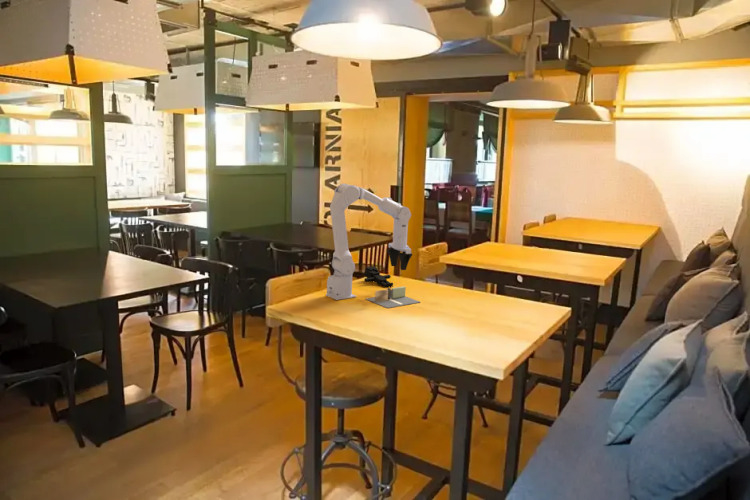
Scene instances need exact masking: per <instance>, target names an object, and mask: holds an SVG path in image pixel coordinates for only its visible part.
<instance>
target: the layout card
mask: <svg viewBox="0 0 750 500" xmlns="http://www.w3.org/2000/svg"><path fill="white" fill-rule="evenodd" d="M365 300H366V301H369V302H370V303H374V304H376V305H379V306H380V307H383V308H385V309H392V308H397V307H403V305H404V306H408V305H413V304H414V305H415V304H420V303H421V301H419V300H417V299H413V298H411V297H409V296H406V295H405V296H404V297H398V298H391V297H390V299H388V300H382V301H375V296H373V297H366V298H365Z"/></svg>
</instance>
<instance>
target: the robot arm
mask: <svg viewBox="0 0 750 500" xmlns="http://www.w3.org/2000/svg"><path fill="white" fill-rule="evenodd" d="M358 200H365V201H367V202H369V203H371V204H373V205H375V206H377V207H378V210H379V211H381V212H383V213H384V214H386V215H388V216H391V217H392V218H393V230H392V231H393V233H392V234H393V235H392V242H389V243H388V248H387V249H386V251H387V254H388V257H389V261H390V266H391V267H397V265H398V258H399V264H400V270H401V271H406V270H407V269H408V264H409V262H410V259H411V258H412V256H413V253H412V248H410V247H409V245H407V244H408V227H409V220H410V219H411V217H412V213H411V211H410V208H409V207H407V206H403V205H402V203H400V202H396V201H394V200H393V198H391V197H382V198H381V197H380V196H377V195H376V194H374V193H372V192H370V191H369V190H367V189H365V188H363V187H359V186H357V185H355V184H348V183H340V184H339V185H338V186H337V187H336V188H334V192H333V197H332V200H331V202H330V204H329V205H330V206H329V211H330V217H331V226H332V236H333V243H334V252H333V254H332V255H333V256H332V261H331V266H332V269H333V270H334V272H333V274H332V275H329V276H328V278H327V280H326V294H325V296H327V297H329V298H331V299H334V300H335V301H338V300H339V301H340V300H346V299H351V298H356V297H357V295H355V294H353V292H352V290H353V273H354V272H355V271H356V264H355V262H354V260H353V255H352V254H351V252H350V250H349V240H348V239H349V238H348V230H347V222H346V213H345V211H346V209H347V208H348V207H349V206H350V205H352V204H353V203H355V202H356V201H358Z"/></svg>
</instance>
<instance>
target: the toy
mask: <svg viewBox="0 0 750 500" xmlns="http://www.w3.org/2000/svg"><path fill="white" fill-rule="evenodd" d="M364 277H365V278H364V280H363V281H364V282H366V283H368V282H370V281H372V282H371V283H375V284H376V285H378V286H382V287H383V288H385V287H388V288H392V287H393V285H394V283H393V282H390V281H389V280H388V279H391V277H392V275H390V274H384V275H382V274H381V272H379V269H378V268H377V267H375V266H366V267H365V270H364ZM373 281H374V282H373ZM389 286H390V287H389ZM391 286H392V287H391Z"/></svg>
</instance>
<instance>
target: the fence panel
mask: <svg viewBox="0 0 750 500" xmlns="http://www.w3.org/2000/svg"><path fill="white" fill-rule="evenodd" d="M406 289H407V287H406V286H399V287H391V291H390V297H391V298H398V297H404V296H406Z"/></svg>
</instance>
